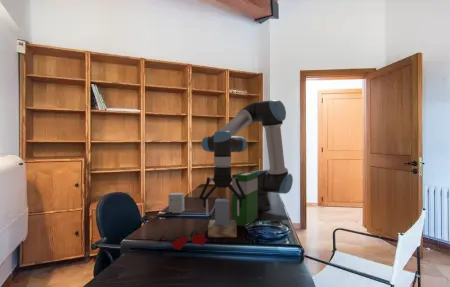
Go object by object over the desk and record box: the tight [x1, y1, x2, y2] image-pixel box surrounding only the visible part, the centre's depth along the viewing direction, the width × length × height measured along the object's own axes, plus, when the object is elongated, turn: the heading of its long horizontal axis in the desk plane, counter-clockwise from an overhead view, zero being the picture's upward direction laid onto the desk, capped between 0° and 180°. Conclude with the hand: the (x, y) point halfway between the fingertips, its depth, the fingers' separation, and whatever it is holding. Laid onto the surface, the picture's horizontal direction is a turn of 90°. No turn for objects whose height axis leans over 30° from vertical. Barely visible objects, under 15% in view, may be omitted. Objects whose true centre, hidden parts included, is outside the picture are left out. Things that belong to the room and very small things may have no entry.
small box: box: [167, 192, 185, 214], centre depth 168 cm, size 8×6×10 cm
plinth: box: [207, 219, 238, 238], centre depth 129 cm, size 12×12×4 cm
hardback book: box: [231, 171, 258, 227], centre depth 148 cm, size 18×7×24 cm, turn 157°
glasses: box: [160, 230, 208, 251], centre depth 117 cm, size 14×16×5 cm
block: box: [214, 198, 230, 225], centre depth 129 cm, size 6×6×10 cm
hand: (222, 215), depth 129 cm, fingers open, 13 cm apart
